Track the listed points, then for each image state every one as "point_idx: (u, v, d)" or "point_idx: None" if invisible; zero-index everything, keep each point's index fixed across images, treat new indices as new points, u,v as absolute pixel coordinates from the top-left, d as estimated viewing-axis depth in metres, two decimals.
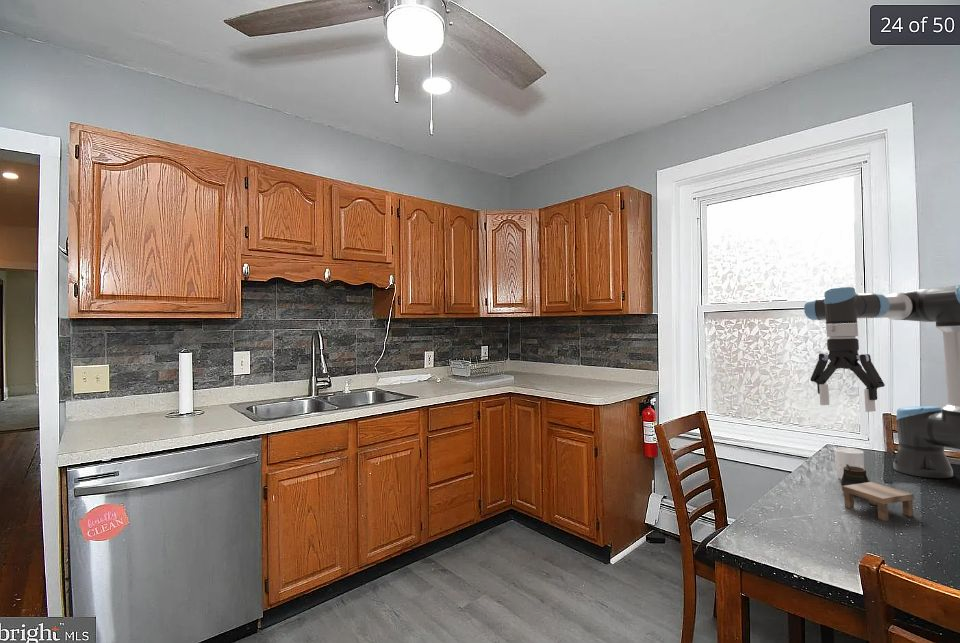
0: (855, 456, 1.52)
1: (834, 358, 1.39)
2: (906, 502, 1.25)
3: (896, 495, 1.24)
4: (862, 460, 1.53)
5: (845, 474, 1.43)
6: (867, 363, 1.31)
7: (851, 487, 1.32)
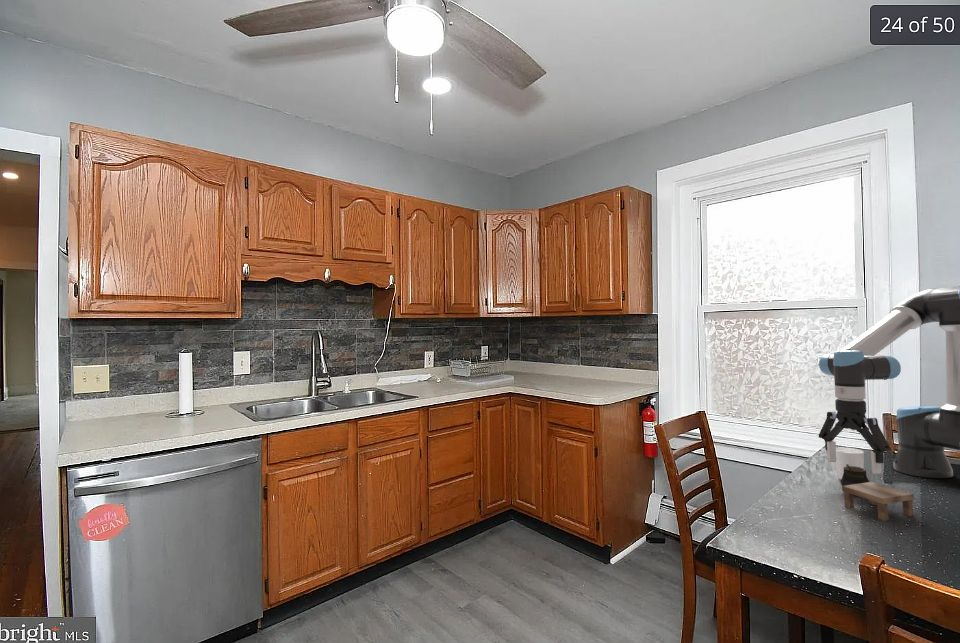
0: (855, 456, 1.52)
1: (842, 418, 1.44)
2: (906, 502, 1.25)
3: (896, 495, 1.24)
4: (862, 460, 1.53)
5: (845, 474, 1.43)
6: (874, 427, 1.36)
7: (851, 487, 1.32)
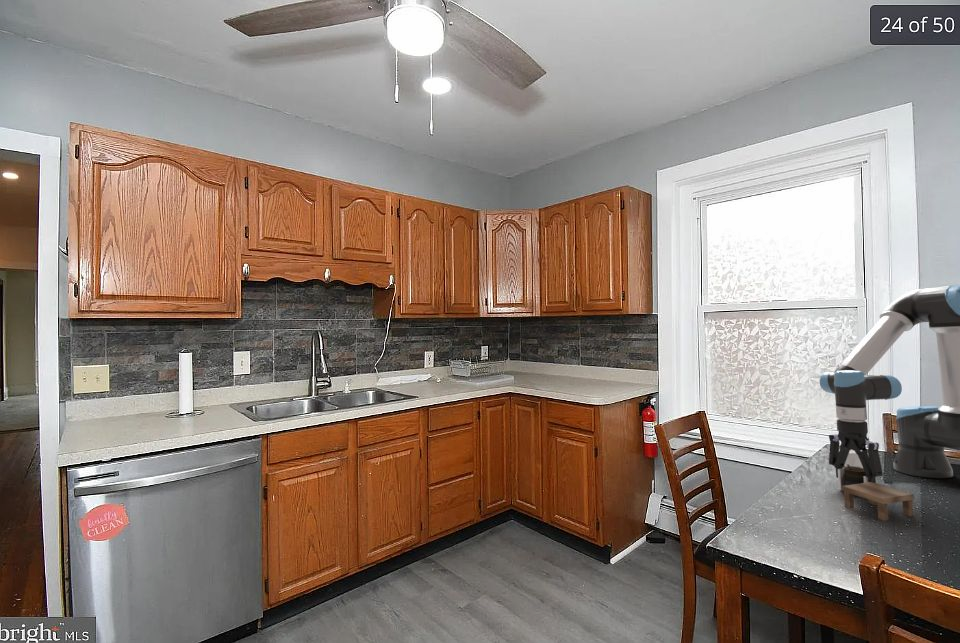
0: (855, 456, 1.52)
1: (843, 439, 1.44)
2: (906, 502, 1.25)
3: (896, 495, 1.24)
4: None
5: (846, 474, 1.43)
6: (873, 452, 1.36)
7: (851, 487, 1.32)
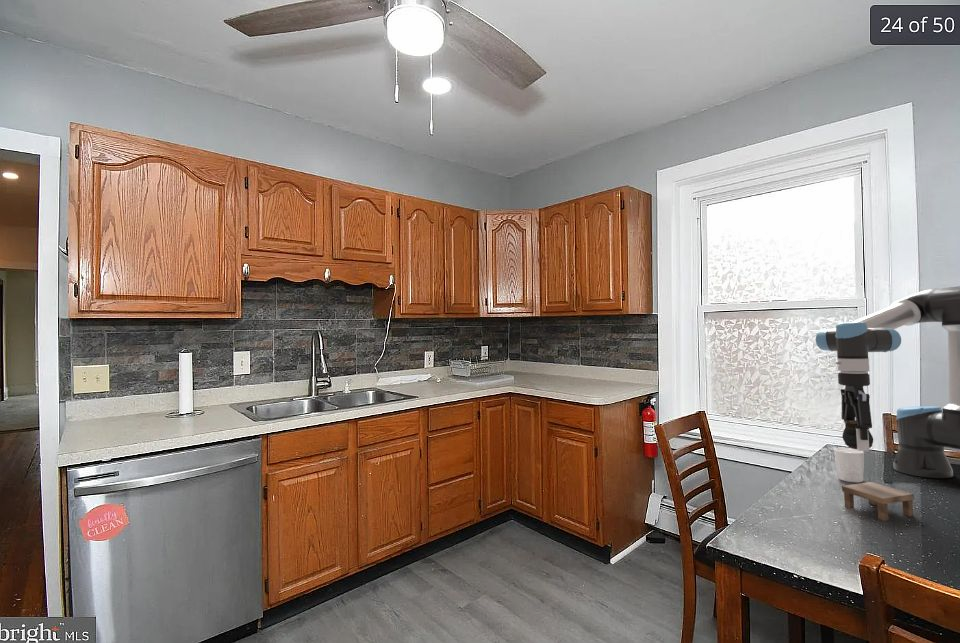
0: (855, 456, 1.52)
1: (845, 391, 1.41)
2: (906, 502, 1.25)
3: (896, 495, 1.24)
4: (862, 460, 1.53)
5: (845, 427, 1.41)
6: (862, 403, 1.33)
7: (851, 487, 1.32)
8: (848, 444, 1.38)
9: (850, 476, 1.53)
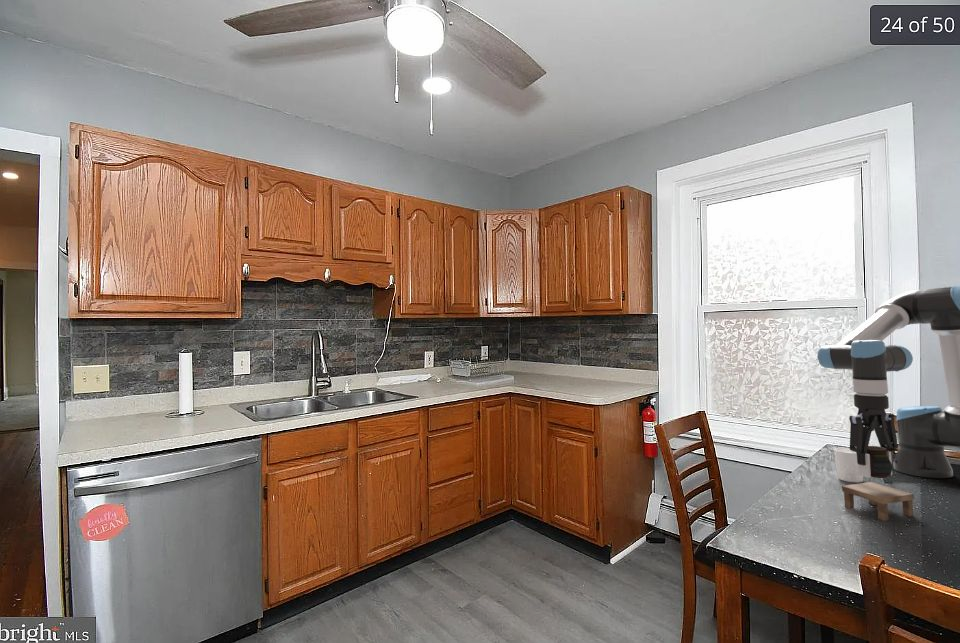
0: (855, 456, 1.52)
1: None
2: (906, 502, 1.25)
3: (896, 495, 1.24)
4: None
5: None
6: (852, 425, 1.29)
7: (851, 487, 1.32)
8: None
9: (850, 476, 1.53)
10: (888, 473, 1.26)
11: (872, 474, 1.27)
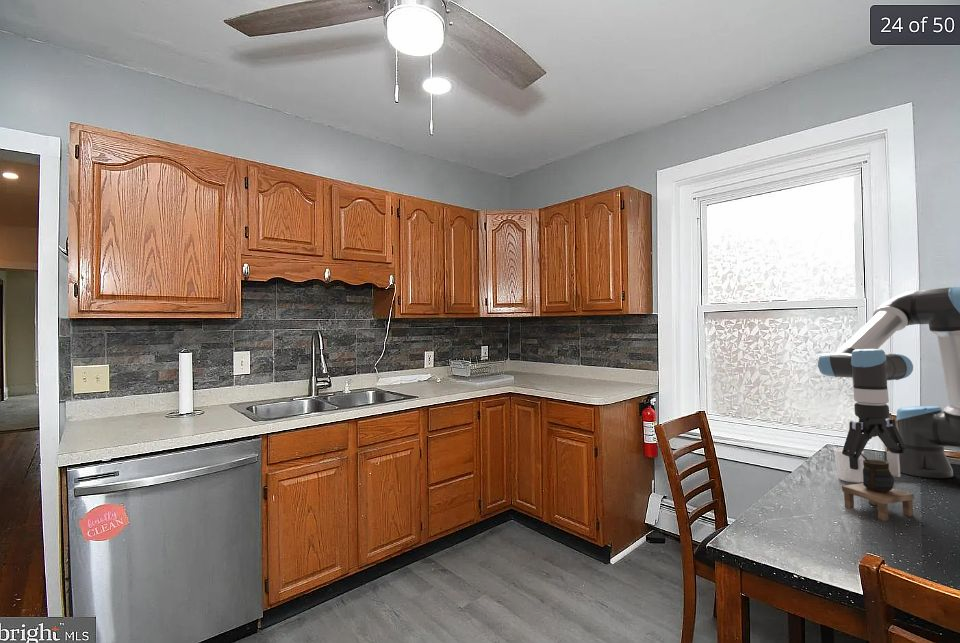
0: None
1: None
2: (906, 502, 1.25)
3: (896, 495, 1.24)
4: (862, 460, 1.53)
5: None
6: (851, 431, 1.28)
7: (851, 487, 1.32)
8: None
9: (850, 476, 1.53)
10: (890, 487, 1.26)
11: (874, 488, 1.27)
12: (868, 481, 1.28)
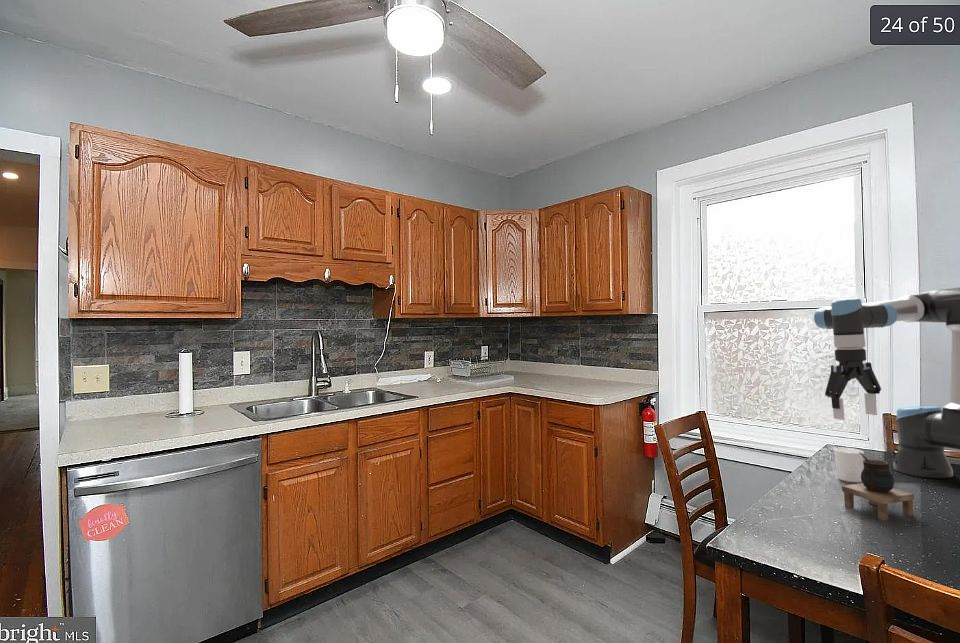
0: (855, 456, 1.52)
1: None
2: (906, 502, 1.25)
3: (896, 495, 1.24)
4: (862, 460, 1.53)
5: None
6: (832, 373, 1.40)
7: (851, 487, 1.32)
8: None
9: (850, 476, 1.53)
10: (890, 487, 1.26)
11: (874, 488, 1.27)
12: (868, 482, 1.28)
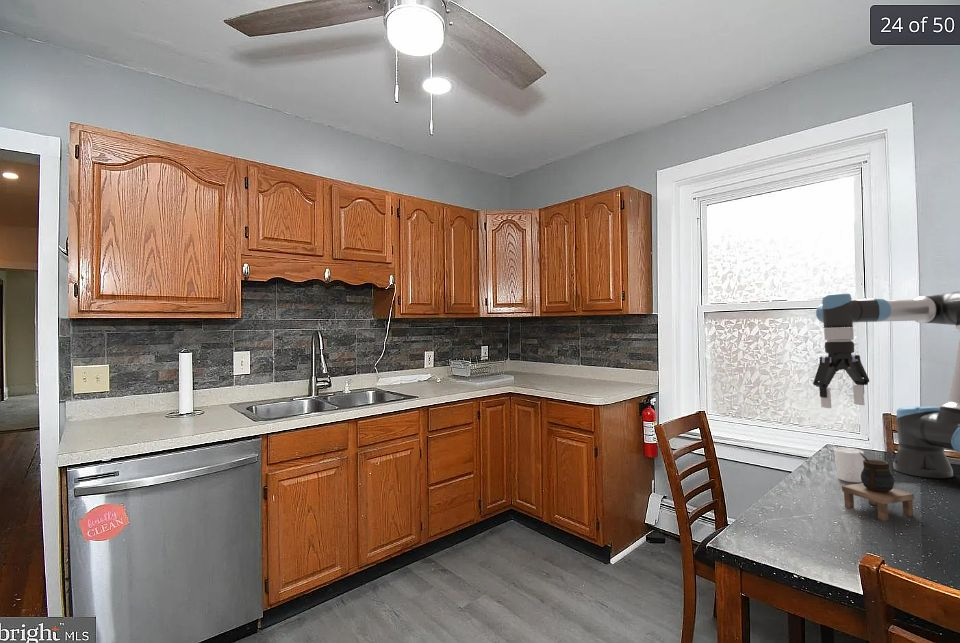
0: (855, 456, 1.52)
1: None
2: (906, 502, 1.25)
3: (896, 495, 1.24)
4: (862, 460, 1.53)
5: None
6: (821, 364, 1.47)
7: (851, 487, 1.32)
8: None
9: (850, 476, 1.53)
10: (890, 487, 1.26)
11: (874, 488, 1.27)
12: (868, 482, 1.28)
